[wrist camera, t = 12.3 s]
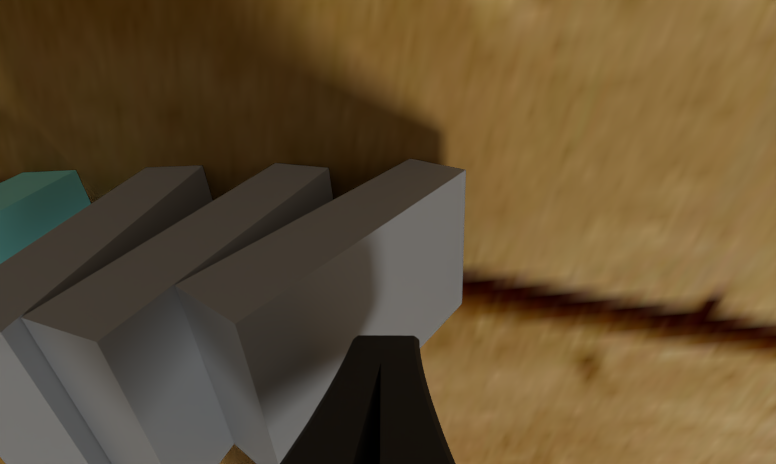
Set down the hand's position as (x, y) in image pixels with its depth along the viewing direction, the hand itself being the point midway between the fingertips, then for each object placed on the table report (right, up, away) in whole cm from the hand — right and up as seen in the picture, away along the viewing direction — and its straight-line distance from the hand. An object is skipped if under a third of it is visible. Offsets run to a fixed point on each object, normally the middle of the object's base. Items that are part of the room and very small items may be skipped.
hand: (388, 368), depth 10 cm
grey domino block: (-7, +3, +6) cm, 10 cm away
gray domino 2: (+2, +3, +5) cm, 6 cm away
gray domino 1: (-3, +3, +6) cm, 7 cm away
